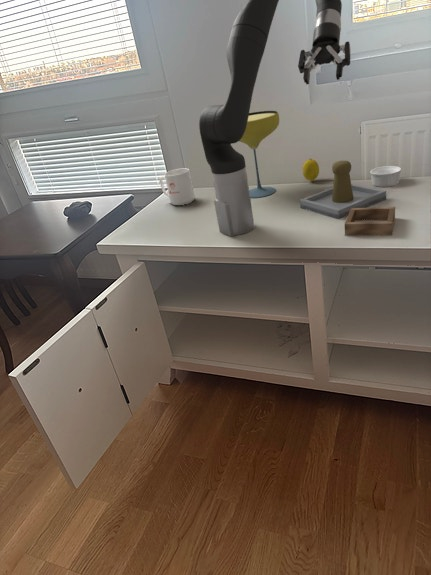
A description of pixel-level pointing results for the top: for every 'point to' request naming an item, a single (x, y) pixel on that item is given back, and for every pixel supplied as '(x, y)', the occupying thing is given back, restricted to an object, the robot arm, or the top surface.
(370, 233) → the walnut holder
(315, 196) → the grey tray
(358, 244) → the top surface
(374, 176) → the ramekin
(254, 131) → the cocktail glass
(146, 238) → the top surface
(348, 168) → the cork
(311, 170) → the lemon
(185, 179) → the mug
